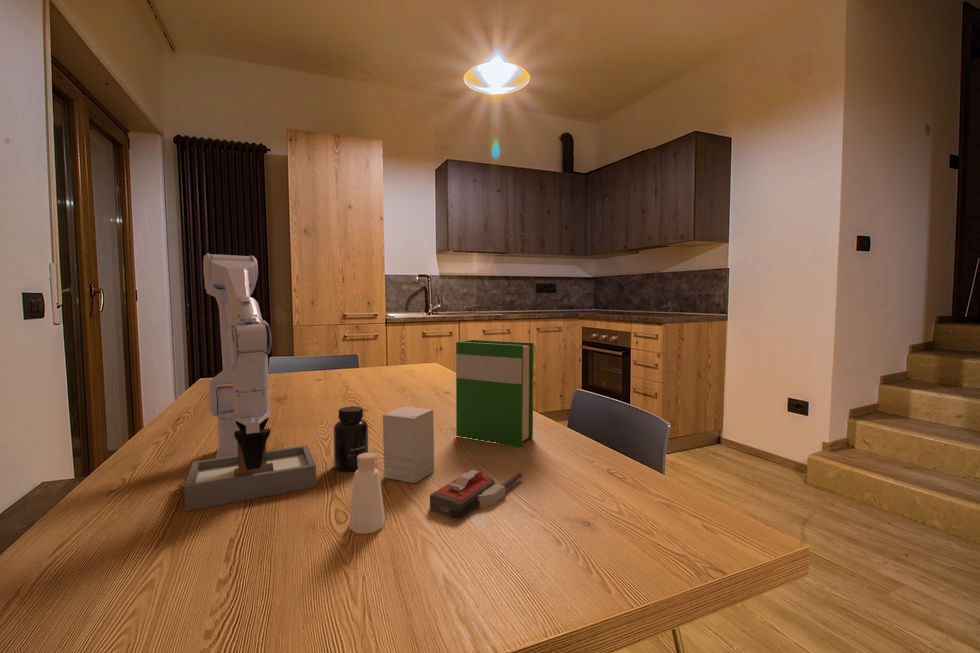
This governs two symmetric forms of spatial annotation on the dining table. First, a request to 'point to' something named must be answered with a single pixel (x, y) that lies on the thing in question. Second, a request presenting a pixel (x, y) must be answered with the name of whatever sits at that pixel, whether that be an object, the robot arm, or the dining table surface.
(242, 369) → the robot arm
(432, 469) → the supplement box
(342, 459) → the supplement bottle
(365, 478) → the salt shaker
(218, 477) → the open box
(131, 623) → the dining table surface
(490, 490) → the walkie-talkie
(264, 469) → the wooden peg
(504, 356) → the hardback book
